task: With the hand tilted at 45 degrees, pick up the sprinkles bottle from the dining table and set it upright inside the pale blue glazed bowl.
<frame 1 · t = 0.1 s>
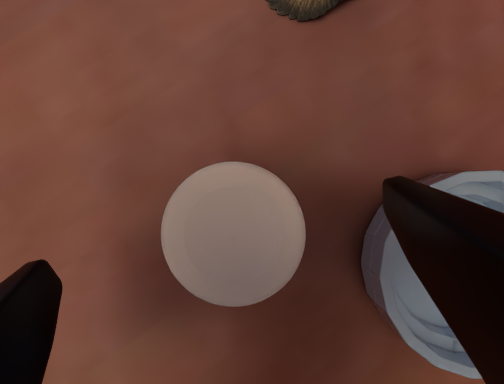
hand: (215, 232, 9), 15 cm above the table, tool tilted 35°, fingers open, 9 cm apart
bowl: (444, 259, 24), on the table
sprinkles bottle: (249, 210, 24), on the table
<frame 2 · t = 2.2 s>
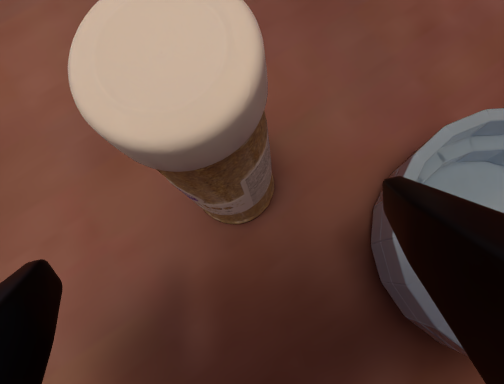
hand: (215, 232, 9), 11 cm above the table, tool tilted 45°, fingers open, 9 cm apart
bowl: (476, 241, 19), on the table
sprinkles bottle: (237, 187, 21), on the table
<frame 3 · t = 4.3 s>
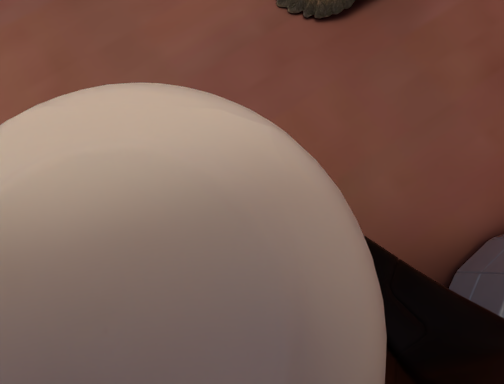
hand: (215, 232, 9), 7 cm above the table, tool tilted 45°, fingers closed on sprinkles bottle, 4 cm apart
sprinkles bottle: (250, 277, 16), on the table, touching gripper
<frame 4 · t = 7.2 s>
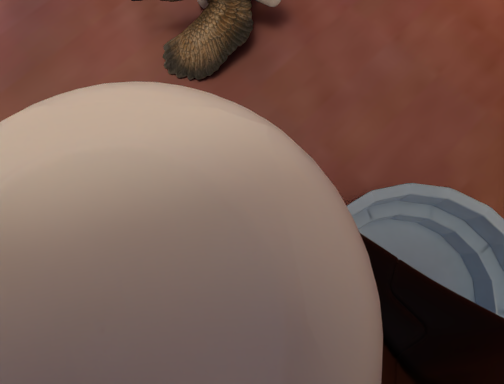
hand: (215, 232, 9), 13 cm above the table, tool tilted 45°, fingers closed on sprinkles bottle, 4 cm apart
bowl: (393, 292, 21), on the table
eagle figurine: (216, 26, 26), on the table
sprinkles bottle: (250, 277, 16), point 6 cm above the table, touching gripper
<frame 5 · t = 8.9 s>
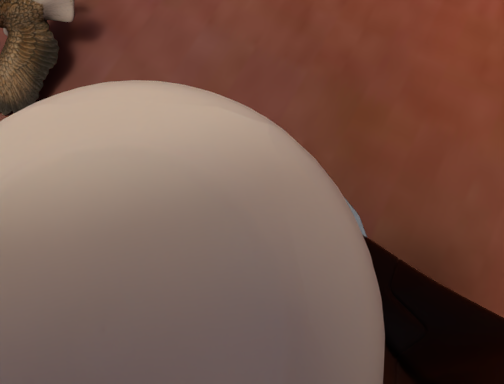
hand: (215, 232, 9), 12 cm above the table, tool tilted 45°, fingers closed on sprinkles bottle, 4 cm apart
eagle figurine: (35, 54, 25), on the table
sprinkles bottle: (250, 277, 16), point 5 cm above the table, touching gripper
when the fingers open (8 cm above the table, at t = 10.5 s): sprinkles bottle stays where it is, resting on bowl.
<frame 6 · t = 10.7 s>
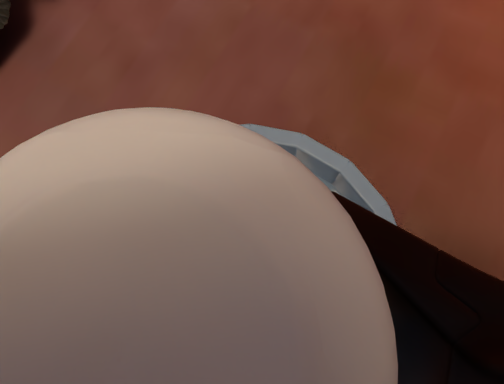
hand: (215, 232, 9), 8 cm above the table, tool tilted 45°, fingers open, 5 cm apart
bowl: (251, 277, 17), on the table
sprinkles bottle: (252, 283, 16), resting on bowl
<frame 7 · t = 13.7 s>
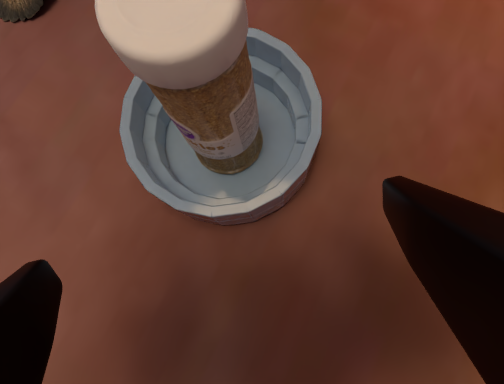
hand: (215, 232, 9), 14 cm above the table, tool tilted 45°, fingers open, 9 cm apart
bowl: (230, 142, 24), on the table
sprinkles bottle: (230, 143, 24), resting on bowl
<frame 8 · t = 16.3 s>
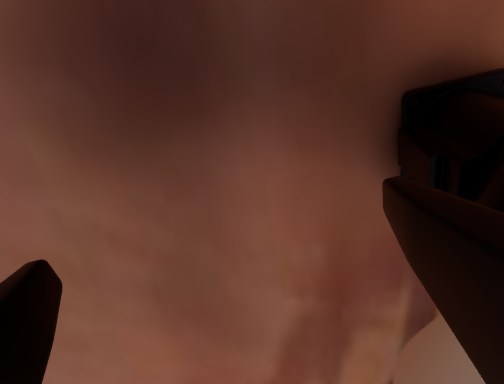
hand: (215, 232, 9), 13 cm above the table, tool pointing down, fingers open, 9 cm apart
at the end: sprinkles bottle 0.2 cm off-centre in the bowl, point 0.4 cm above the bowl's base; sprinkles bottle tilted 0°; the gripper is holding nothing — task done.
